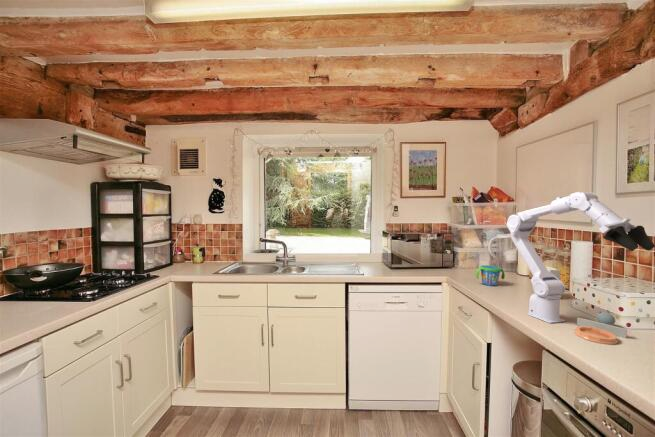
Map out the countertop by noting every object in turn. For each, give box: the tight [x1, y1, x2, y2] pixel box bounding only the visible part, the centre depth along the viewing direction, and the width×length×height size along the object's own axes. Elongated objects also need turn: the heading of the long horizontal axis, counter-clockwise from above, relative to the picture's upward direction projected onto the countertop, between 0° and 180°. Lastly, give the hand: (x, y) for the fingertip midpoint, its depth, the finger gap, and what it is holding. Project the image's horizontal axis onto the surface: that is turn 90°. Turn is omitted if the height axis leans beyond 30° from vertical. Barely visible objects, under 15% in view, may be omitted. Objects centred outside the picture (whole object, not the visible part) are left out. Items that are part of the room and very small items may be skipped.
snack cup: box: [475, 264, 506, 287], centre depth 167 cm, size 16×10×10 cm
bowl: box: [573, 326, 619, 345], centre depth 100 cm, size 11×11×2 cm
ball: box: [596, 311, 616, 326], centre depth 109 cm, size 5×5×5 cm
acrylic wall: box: [576, 317, 628, 339], centre depth 105 cm, size 13×1×3 cm, turn 37°
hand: (643, 248), depth 88 cm, fingers open, 7 cm apart
